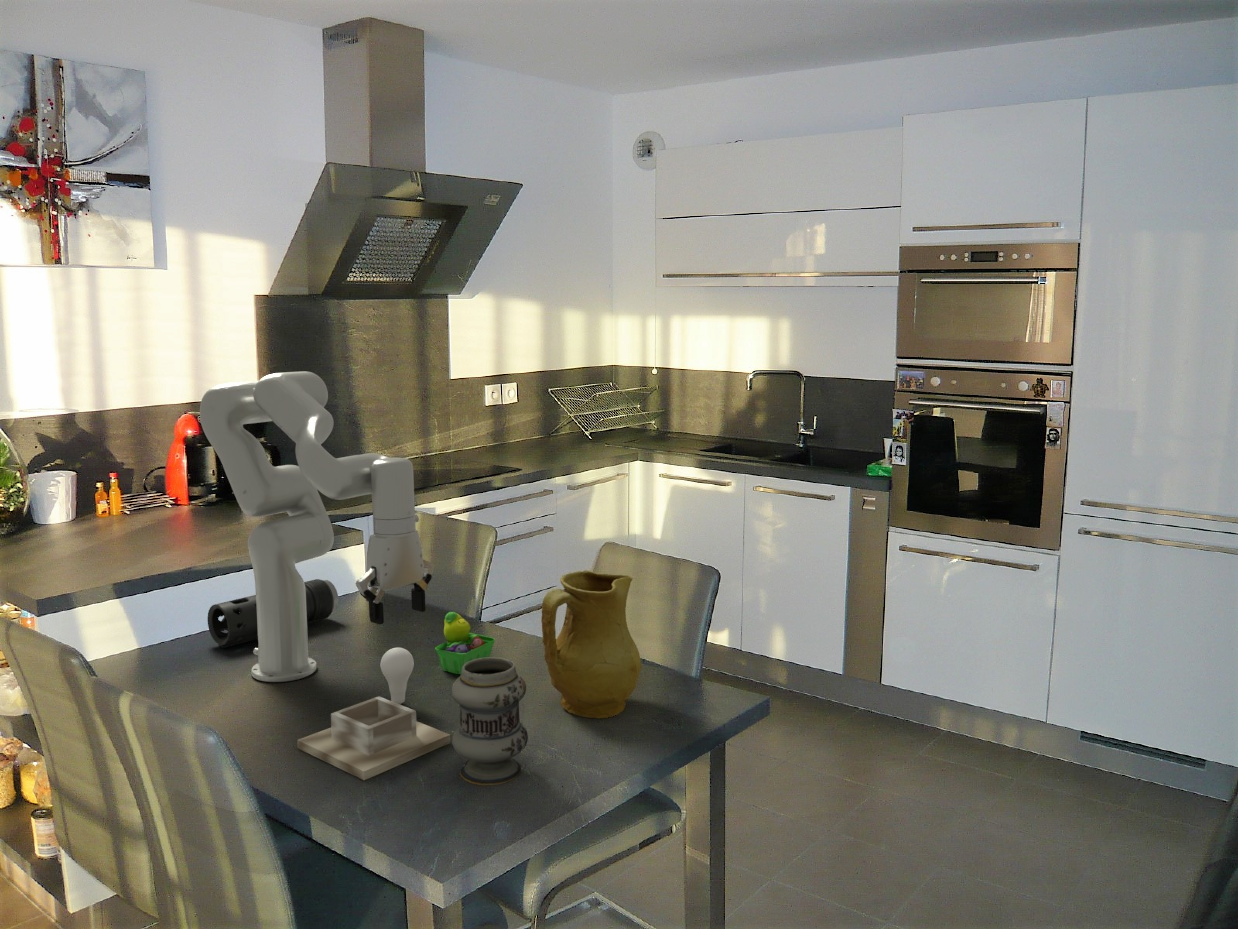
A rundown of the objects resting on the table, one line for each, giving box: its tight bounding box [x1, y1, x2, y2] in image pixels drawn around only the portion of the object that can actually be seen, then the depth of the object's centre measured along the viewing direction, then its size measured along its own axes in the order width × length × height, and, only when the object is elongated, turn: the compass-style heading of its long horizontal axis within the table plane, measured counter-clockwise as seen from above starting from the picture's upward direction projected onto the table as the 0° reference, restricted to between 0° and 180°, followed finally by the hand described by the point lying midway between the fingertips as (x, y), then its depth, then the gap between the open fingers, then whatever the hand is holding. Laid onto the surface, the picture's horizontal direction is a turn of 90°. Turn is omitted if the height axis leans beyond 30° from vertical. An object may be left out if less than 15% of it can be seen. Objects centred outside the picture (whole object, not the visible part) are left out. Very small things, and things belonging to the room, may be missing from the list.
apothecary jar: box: [451, 656, 529, 786], centre depth 162 cm, size 12×12×18 cm
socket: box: [297, 695, 451, 781], centre depth 172 cm, size 18×18×6 cm
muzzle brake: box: [207, 578, 339, 649], centre depth 229 cm, size 10×28×10 cm, turn 141°
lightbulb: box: [379, 647, 415, 705], centre depth 189 cm, size 6×6×11 cm
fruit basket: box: [435, 611, 496, 676], centre depth 210 cm, size 11×9×11 cm
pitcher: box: [540, 569, 642, 719], centre depth 188 cm, size 17×19×25 cm
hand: (398, 616), depth 187 cm, fingers open, 9 cm apart
